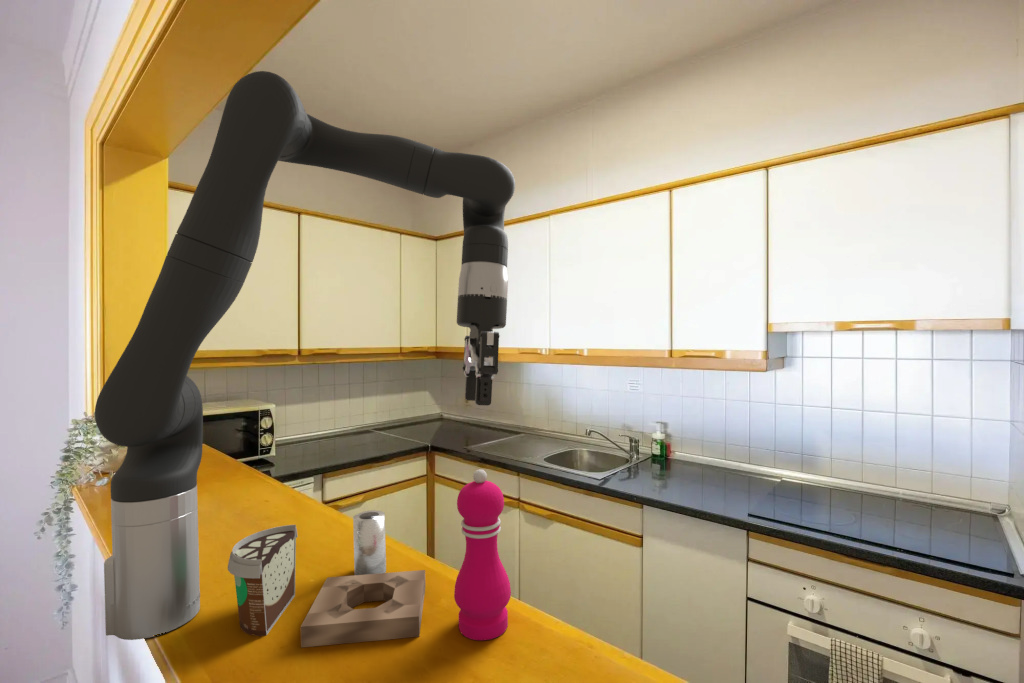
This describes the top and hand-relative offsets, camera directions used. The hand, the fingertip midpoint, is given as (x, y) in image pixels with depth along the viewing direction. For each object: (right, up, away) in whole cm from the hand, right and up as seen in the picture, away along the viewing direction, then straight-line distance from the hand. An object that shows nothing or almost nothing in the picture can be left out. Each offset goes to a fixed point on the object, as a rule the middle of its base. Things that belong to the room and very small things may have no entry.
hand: (477, 402), depth 72 cm
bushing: (-17, -28, +4) cm, 33 cm away
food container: (-29, -28, -7) cm, 41 cm away
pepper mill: (+2, -27, -11) cm, 29 cm away
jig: (-14, -27, -8) cm, 32 cm away
